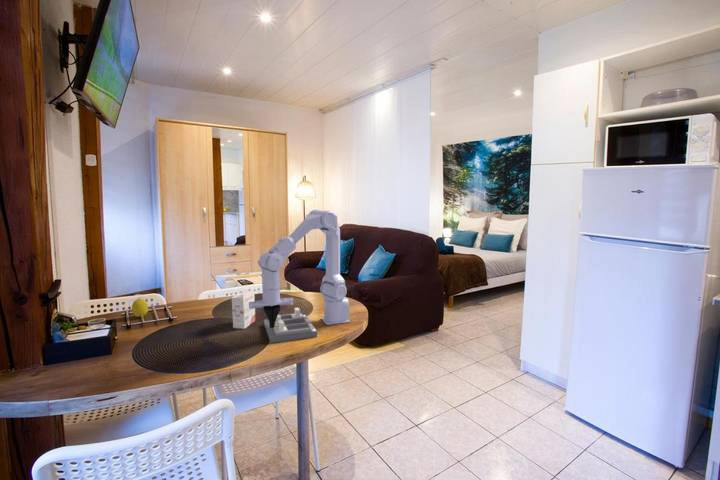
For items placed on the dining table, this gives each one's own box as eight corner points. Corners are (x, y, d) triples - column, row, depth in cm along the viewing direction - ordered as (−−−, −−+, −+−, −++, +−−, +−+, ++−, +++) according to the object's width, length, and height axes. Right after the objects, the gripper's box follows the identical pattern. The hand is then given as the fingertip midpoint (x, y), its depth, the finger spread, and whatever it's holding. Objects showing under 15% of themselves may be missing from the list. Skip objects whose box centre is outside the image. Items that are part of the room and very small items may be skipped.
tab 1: (283, 323, 129) (282, 313, 129) (284, 327, 126) (284, 317, 125) (271, 325, 128) (271, 315, 127) (273, 329, 124) (273, 318, 124)
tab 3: (301, 316, 137) (301, 306, 137) (303, 319, 134) (303, 310, 133) (291, 317, 136) (291, 308, 135) (293, 321, 132) (293, 311, 132)
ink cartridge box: (244, 320, 139) (242, 283, 137) (255, 321, 138) (254, 284, 136) (232, 328, 130) (230, 289, 128) (244, 329, 129) (243, 290, 127)
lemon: (151, 316, 141) (150, 297, 140) (136, 321, 137) (135, 301, 135) (144, 314, 144) (143, 295, 143) (129, 318, 139) (128, 298, 138)
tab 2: (285, 329, 124) (285, 318, 124) (287, 333, 120) (287, 322, 120) (274, 330, 123) (273, 320, 122) (275, 334, 119) (275, 324, 118)
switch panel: (305, 319, 140) (305, 311, 139) (317, 336, 123) (317, 327, 123) (264, 324, 134) (263, 316, 133) (270, 343, 117) (270, 334, 117)
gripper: (290, 283, 125) (291, 320, 127) (247, 287, 119) (249, 325, 121) (294, 288, 118) (294, 327, 120) (249, 292, 113) (250, 332, 115)
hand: (272, 326), depth 120 cm, fingers closed
